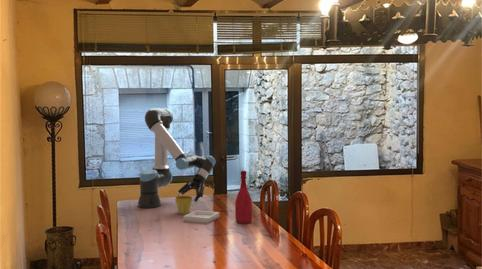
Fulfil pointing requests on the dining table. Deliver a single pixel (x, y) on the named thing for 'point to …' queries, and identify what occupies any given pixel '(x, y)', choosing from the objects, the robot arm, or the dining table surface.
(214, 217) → the white tray
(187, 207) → the plant pot
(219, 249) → the dining table surface
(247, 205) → the wine bottle
